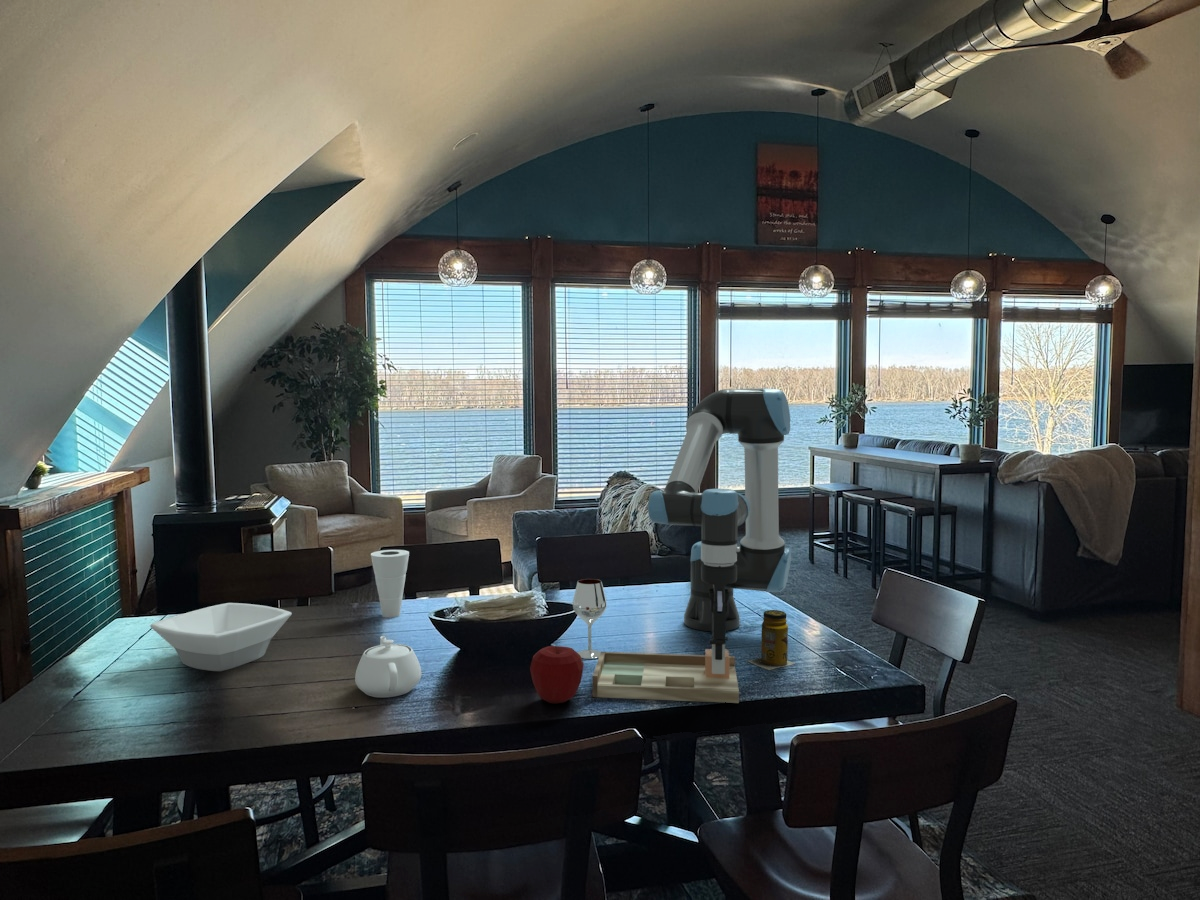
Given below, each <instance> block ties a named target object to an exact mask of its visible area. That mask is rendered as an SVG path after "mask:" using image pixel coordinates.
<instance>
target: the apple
mask: <svg viewBox="0 0 1200 900" xmlns="http://www.w3.org/2000/svg"><path fill="white" fill-rule="evenodd" d="M584 666H585V665H584V661H583V659H582V658H581V656H580V655H579V654H578V652H577V651H576V650H575V649H573V648H572V647H568V646H561V645H560V646H558V645H551V646H550V645H549V646H546V647H543V648H541V649H539V650H538V651H537V652H535V653H534V655H533V657H532V659H531V662H530V666H529V670H530V671H529V672H530V675H531V680H532V681H531V682H532V683H533V686H534V687H535V691H536V693H537V695H538V697H539V698H541V699H542V700H544V701H546V702H547V703H549V704H553V705H554V704H563V703H566V702H568V701H569V700H570V699H572V698H573V697H575V696H576V695H577V691H578V689H579V687H580V685H581V683H582V677H583V672H584Z"/></svg>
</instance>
